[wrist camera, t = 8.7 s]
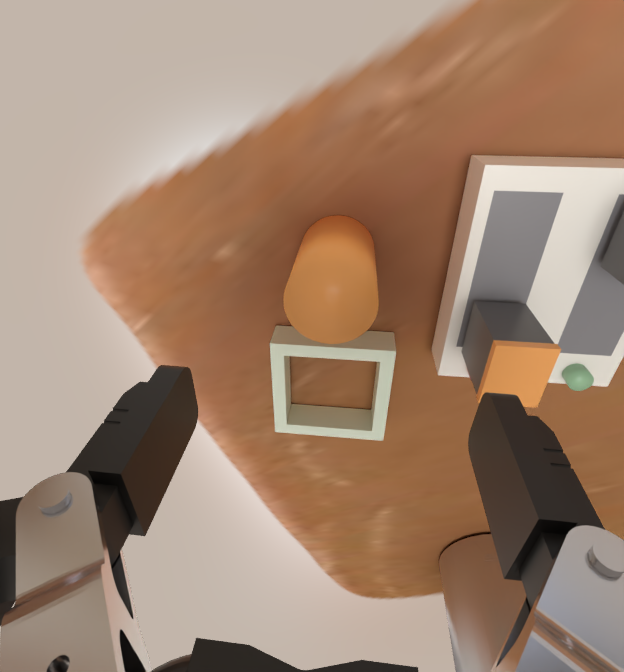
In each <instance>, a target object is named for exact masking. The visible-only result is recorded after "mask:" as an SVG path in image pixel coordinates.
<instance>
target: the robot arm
mask: <svg viewBox="0 0 624 672" xmlns="http://www.w3.org/2000/svg"><path fill="white" fill-rule="evenodd" d="M197 418H198V405H197V400H196V395H195V389H194V384H193V379H192V374H191V371H190V369H189V368H188V367H179V366H167V365H161V366H159V367H158V368H157V370H156V371H155V373H154V374H153V375H152V377H151V378H150V380H149V381H148V382H139V383H138V384H136V385H135V386H134V387H132V388H131V389H130V390H128V391H127V392H125V393H124V394H123V395H122V397H121V398H120V399H119V401H118V402H117V404H116V405H115V406H114V408H113V411H111V412H110V413H109V415H108V416H107V417H106V419H105V420H104V424H103V423H102V424H101V426H100V427H99V428H98V430H97V431H96V432H95V434H94V435H93V437H92V438H91V439H90V440H89V442H88V443H87V445H86V446H85V447H84V449H83V450H82V451H81V453H80V454H79V456H78V457H77V458H76V460H75V461H74V462H73V464H72V465H71V466H70V468H69V469H68V470H67V471H66V473H60V474H57V475H54V476H51V477H49V478H47V479H45V480H43V481H41V482H40V483H38V484H37V485H35V486H34V487H33V488H32V489H31V490H30V491H29V492H28V493H27V494H26V495H25V496H24V497H21V498H16V499H10V500H5V501H0V626H1V632H0V672H418V668H417V667H410V666H403V665H395V664H388V663H379V662H373V661H365V660H360V661H354V662H349V663H344V664H339V665H334V666H328V667H323V668H318V669H313V670H300V669H297V668H295V667H293V666H291V665H289V664H287V663H284V662H283V661H281V660H279V659H277V658H275V657H272V656H270V655H268V654H266V653H264V652H262V651H260V650H258V649H256V648H254V647H252V646H250V645H245V644H237V643H229V642H223V641H215V640H207V639H200V638H196V641H195V645H194V648H193V651H192V654H190V655H186V656H182V657H180V658H177V659H174V660H171V661H169V662H167V663H165V664H163V665H161V666H159V667H157V668H155V669H154V670H152V668H151V664H150V660H149V656H148V653H147V649H146V646H145V643H144V640H143V637H142V634H141V631H140V628H139V624H138V619H137V615H136V610H135V606H134V601H133V596H132V592H131V587H130V582H129V578H128V573H127V569H126V564H125V560H124V555H123V551H122V547H123V545H124V543H125V541H126V539H127V537H128V535H129V534H132V535H141V536H145V535H146V533H147V531H148V529H149V526H150V524H151V522H152V520H153V518H154V516H155V513H156V511H157V509H158V507H159V505H160V503H161V501H162V498H163V496H164V494H165V492H166V490H167V488H168V486H169V483H170V481H171V479H172V477H173V475H174V473H175V470H176V468H177V466H178V464H179V462H180V459H181V457H182V455H183V453H184V451H185V449H186V447H187V444H188V442H189V440H190V438H191V436H192V434H193V431H194V429H195V427H196V423H197ZM468 446H469V455H470V459H471V462H472V466H473V469H474V473H475V477H476V480H477V484H478V487H479V491H480V495H481V498H482V502H483V505H484V509H485V513H486V516H487V520H488V523H489V527H490V531H491V534H484V535H478V536H472V537H468V538H465V539H462V540H460V541H458V542H456V543H454V544H452V545H450V546H449V547H448V548H447V549H445V550H444V552H443V553H442V554H441V556H440V559H439V568H440V574H441V580H442V587H443V593H444V599H445V606H446V613H447V619H448V626H449V632H450V638H451V644H452V650H453V656H454V663H455V670H456V672H624V540H622V539H621V538H619V537H618V536H616V535H615V534H613V533H611V532H609V531H607V530H605V528H604V527H603V525H602V523H601V521H600V519H599V518H598V516H597V514H596V512H595V510H594V508H593V506H592V504H591V502H590V500H589V499H588V497H587V495H586V493H585V491H584V489H583V487H582V485H581V483H580V481H579V480H578V478H577V476H576V474H575V472H574V470H573V469H571V467H570V466H571V464H570V462H569V461H568V459H567V457H566V455H565V454H563V449H562V447H561V445H560V443H559V442H558V440H557V438H556V436H555V434H554V432H553V431H552V430H551V429H550V428H549V427H548V426H547V425H546V424H545V423H544V422H543V421H541V420H540V419H539V418H538V417H537V416H527V414H526V411H525V409H524V407H523V405H522V403H521V401H520V399H519V397H518V396H517V395H513V394H501V393H489V392H486V393H484V394H483V396H482V398H481V401H480V404H479V407H478V410H477V412H476V415H475V418H474V421H473V424H472V427H471V430H470V433H469V441H468ZM14 602H15V606H14V607H13V608H11V607H12V606H13V604H14Z"/></svg>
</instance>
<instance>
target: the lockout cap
mask: <svg viewBox="0 0 624 672" xmlns="http://www.w3.org/2000/svg"><path fill="white" fill-rule="evenodd" d="M283 304H284V310H285V313H286V316H287V318H288V320H289V321H290V323H291V324H292V326H293V327H294V328H295V329H296V330H297V331H298V332H299V333H301V334H302V335H304V336H305V337H307V338H309V339H311V340H313V341H316V342H320V343H325V344H340V343H345V342H348V341H351V340H354V339H356V338H358V337H359V336H361V335H362V334H364V333H365V332H366V331H367V330H368V329H369V328H370V327H371V325H372V324H373V322H374V320H375V318H376V316H377V313H378V308H379V298H378V285H377V273H376V260H375V248H374V242H373V239H372V236H371V234H370V233H369V231H368V230H367V228H366V227H365V226H364V225H363V224H361V223H360V222H359V221H357V220H355V219H353V218H351V217H348V216H342V215H333V216H328V217H324V218H322V219H320V220H318V221H317V222H315V223H314V224H313V225H312V226H311V227H310V228H309V229H308V230H307V232H306V233H305V235H304V237H303V240H302V243H301V246H300V249H299V252H298V254H297V257H296V260H295V263H294V266H293V268H292V271H291V274H290V277H289V280H288V282H287V285H286V288H285V291H284V297H283Z"/></svg>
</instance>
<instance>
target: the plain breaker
mask: <svg viewBox="0 0 624 672" xmlns="http://www.w3.org/2000/svg"><path fill="white" fill-rule="evenodd" d="M601 267H602V268H603V269H604V270H606V271H607V272H608V273H609V274H611V275H612V276H613V277H615V278H616V279H617V280H618V281H620V282H621V283H622V284H623V285H624V212H623V214H622V216H621V219H620V221H619V223H618V226H617V228H616V230H615V233H614V235H613V237H612V240H611V242H610V244H609V247H608V249H607V251H606V254H605V256H604V259H603V261H602V263H601Z"/></svg>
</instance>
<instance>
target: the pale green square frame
mask: <svg viewBox="0 0 624 672" xmlns="http://www.w3.org/2000/svg"><path fill="white" fill-rule="evenodd" d="M270 355H271V371H272V387H273V403H274V419H275V432H281V433H294V434H306V435H318V436H331V437H343V438H355V439H368V440H380V441H383V439H384V432H385V425H386V418H387V411H388V405H389V398H390V391H391V384H392V377H393V371H394V364H395V357H396V345H395V337H394V332H380V331H366V332H365V333H364V334H362V335H361V336H359V337H358V338H356V339H354V340H351V341H348V342H345V343H340V344H325V343H320V342H316V341H313V340H311V339H309V338H307V337H305V336H304V335H302V334H301V333H299V332H298V331H297V330H296V329H295V328H294V327H293V326H278V325H276V327H275V330H274V332H273V335H272V338H271V341H270ZM290 356H298V357H313V358H329V359H344V360H360V361H375V362H377V366H376V374H375V383H374V391H373V400H372V408H371V410H367V409H354V408H341V407H327V406H314V405H301V404H291V384H290Z"/></svg>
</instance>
